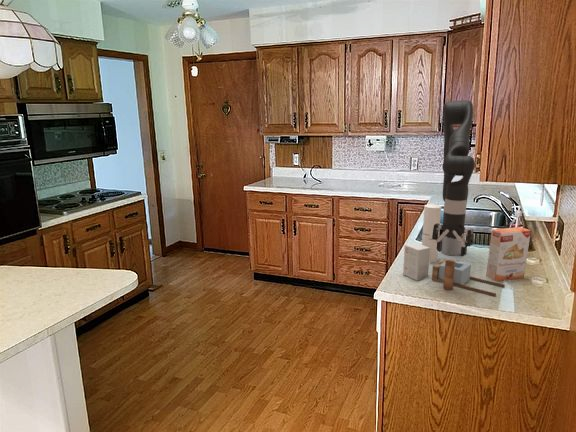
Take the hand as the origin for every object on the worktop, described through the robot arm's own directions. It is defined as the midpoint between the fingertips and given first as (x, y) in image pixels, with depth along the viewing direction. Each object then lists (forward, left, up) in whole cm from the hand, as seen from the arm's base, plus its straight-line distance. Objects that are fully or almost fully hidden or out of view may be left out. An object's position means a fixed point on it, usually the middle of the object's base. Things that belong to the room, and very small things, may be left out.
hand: (450, 253), depth 166 cm
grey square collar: (-9, -1, -14) cm, 17 cm away
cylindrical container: (-28, -20, -15) cm, 38 cm away
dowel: (0, 0, -15) cm, 15 cm away
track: (-9, +4, -15) cm, 18 cm away
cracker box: (-26, +13, -15) cm, 33 cm away
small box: (-6, -16, -15) cm, 23 cm away
